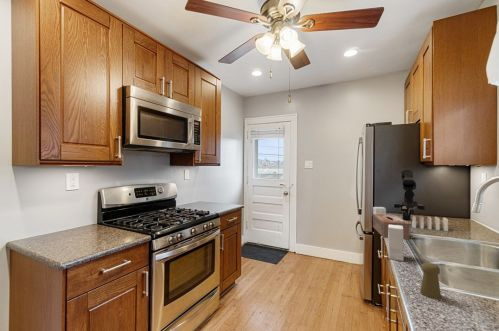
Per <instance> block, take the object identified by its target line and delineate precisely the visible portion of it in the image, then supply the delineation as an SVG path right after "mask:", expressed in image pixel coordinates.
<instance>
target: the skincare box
mask: <svg viewBox="0 0 499 331" xmlns="http://www.w3.org/2000/svg"><path fill="white" fill-rule="evenodd" d="M387 240H388V241H387V243H388V245H387V246H388V247H387V249H388V250H387V251H388V259H389V260H395V261H400V262H404V260H405V259H404V239H403V226H400V225H390V224H389V226H388V238H387Z"/></svg>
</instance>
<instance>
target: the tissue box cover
mask: <svg viewBox="0 0 499 331" xmlns="http://www.w3.org/2000/svg"><path fill="white" fill-rule="evenodd" d="M389 224H390V225H400V226H403V240H410V228H409V225H410V223H409V221H404V220H403V219H402V218H401V217H399V216H398V215H396V214H388V213H386V214H373V213H372V228H374V229H375V231H376V232H377V233H378V234H379V235H380V236H381V237H382V238H387V239H388V226H389ZM374 229H373V230H374Z"/></svg>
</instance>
